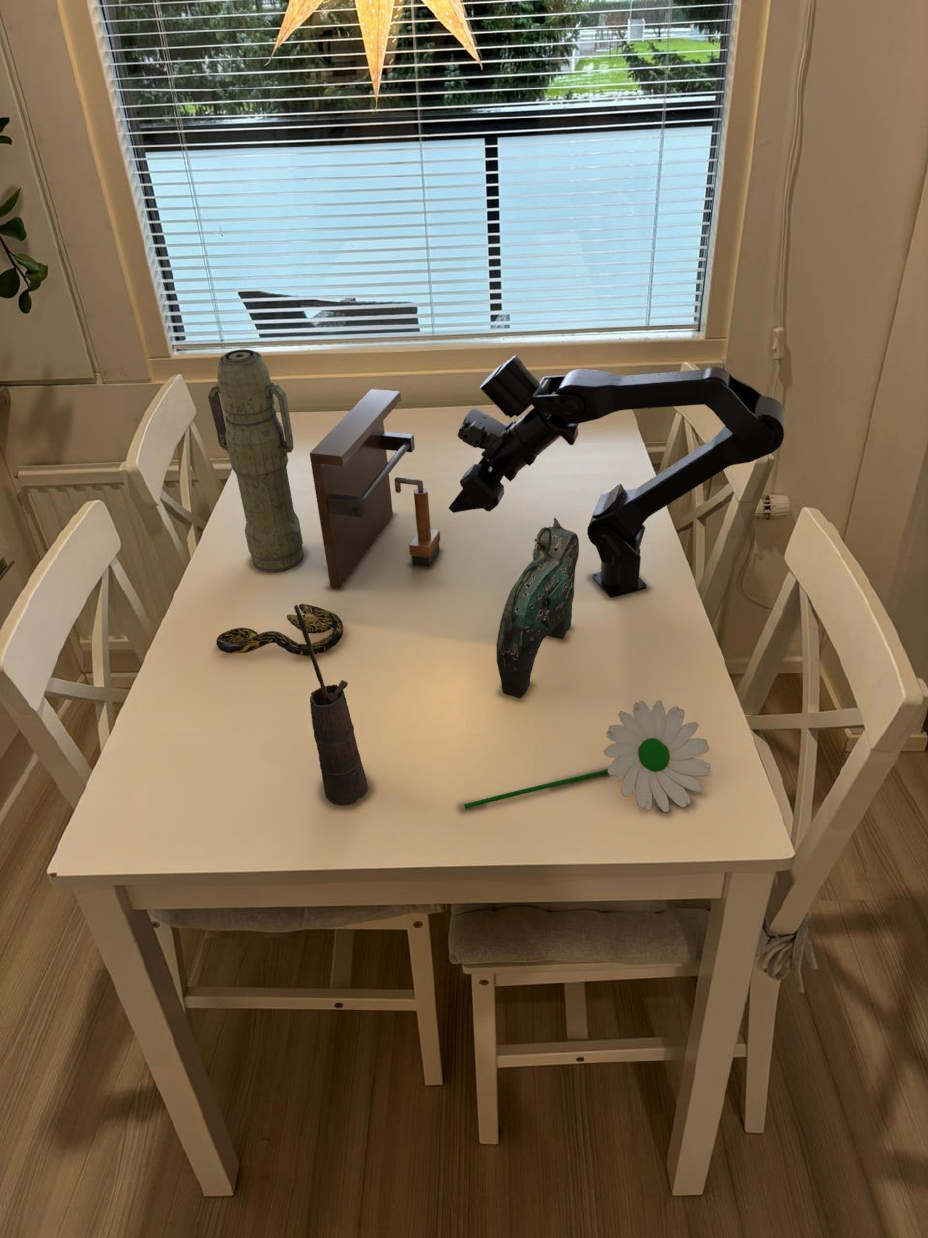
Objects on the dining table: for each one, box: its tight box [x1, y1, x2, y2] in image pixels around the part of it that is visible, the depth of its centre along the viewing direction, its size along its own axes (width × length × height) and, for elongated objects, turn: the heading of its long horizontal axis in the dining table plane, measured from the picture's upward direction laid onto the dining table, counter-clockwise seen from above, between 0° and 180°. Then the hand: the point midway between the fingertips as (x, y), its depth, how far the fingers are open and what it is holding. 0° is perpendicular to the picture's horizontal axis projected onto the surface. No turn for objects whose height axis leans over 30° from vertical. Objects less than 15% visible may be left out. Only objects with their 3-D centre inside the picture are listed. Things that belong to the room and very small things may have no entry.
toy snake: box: [215, 603, 344, 657], centre depth 135 cm, size 18×5×10 cm
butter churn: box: [293, 604, 369, 806], centre depth 105 cm, size 9×10×28 cm
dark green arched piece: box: [496, 517, 580, 700], centre depth 125 cm, size 20×6×20 cm, turn 152°
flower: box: [463, 700, 712, 813], centre depth 110 cm, size 13×6×30 cm
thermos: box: [207, 348, 305, 574], centre depth 145 cm, size 9×12×35 cm
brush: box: [393, 476, 441, 568], centre depth 149 cm, size 6×6×14 cm
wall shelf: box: [309, 388, 416, 590], centre depth 149 cm, size 7×24×24 cm, turn 163°
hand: (460, 495), depth 144 cm, fingers open, 9 cm apart
